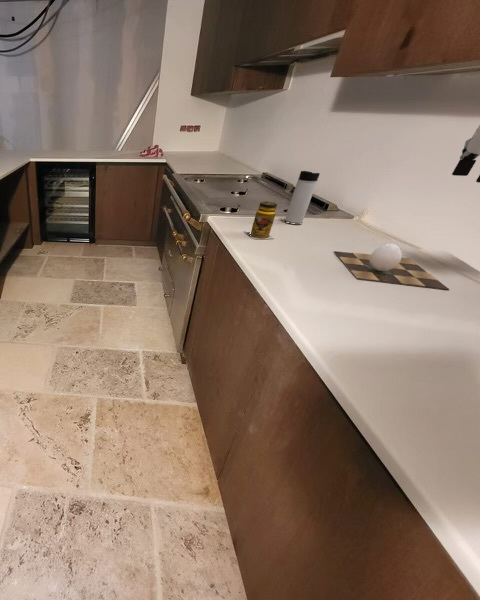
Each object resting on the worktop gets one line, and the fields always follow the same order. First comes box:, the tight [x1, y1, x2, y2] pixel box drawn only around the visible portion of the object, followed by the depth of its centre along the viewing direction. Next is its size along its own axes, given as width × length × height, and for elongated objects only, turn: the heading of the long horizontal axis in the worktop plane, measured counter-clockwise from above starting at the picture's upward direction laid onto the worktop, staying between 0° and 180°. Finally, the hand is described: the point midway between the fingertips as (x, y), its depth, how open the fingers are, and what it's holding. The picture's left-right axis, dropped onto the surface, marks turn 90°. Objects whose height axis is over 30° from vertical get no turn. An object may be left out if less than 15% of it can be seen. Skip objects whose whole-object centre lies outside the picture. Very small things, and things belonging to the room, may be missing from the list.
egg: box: [370, 243, 403, 271], centre depth 90 cm, size 6×6×8 cm
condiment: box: [245, 201, 278, 240], centre depth 115 cm, size 7×8×12 cm
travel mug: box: [284, 170, 321, 225], centre depth 125 cm, size 6×7×20 cm
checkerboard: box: [333, 250, 450, 291], centre depth 93 cm, size 20×20×1 cm
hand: (471, 178), depth 84 cm, fingers open, 9 cm apart
